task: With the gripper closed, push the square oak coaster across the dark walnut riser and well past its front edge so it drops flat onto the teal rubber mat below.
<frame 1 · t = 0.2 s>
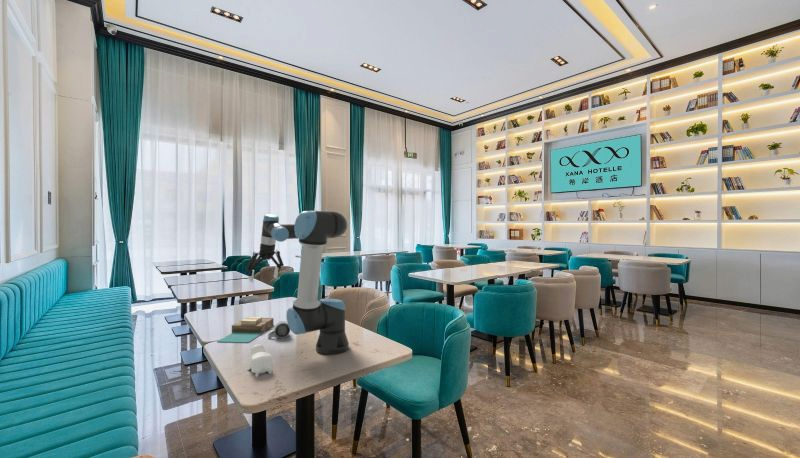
hand: (263, 279, 191), 28 cm above the table, tool tilted 20°, fingers open, 13 cm apart
ceramic mug: (279, 337, 181), on the table
oak coaster: (251, 322, 192), point 4 cm above the table, touching walnut riser
walnut riser: (253, 328, 194), on the table
teal mat: (240, 337, 179), on the table
white animal figurine: (260, 370, 140), on the table
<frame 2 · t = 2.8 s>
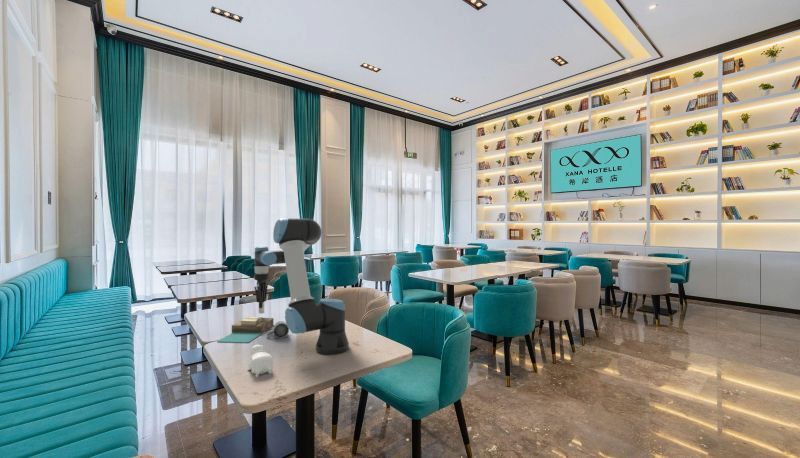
hand: (261, 313, 204), 6 cm above the table, tool pointing down, fingers closed
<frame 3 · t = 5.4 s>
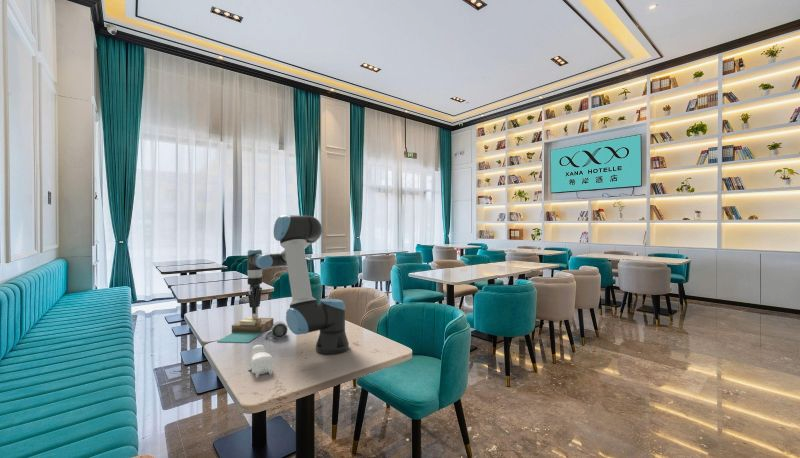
hand: (254, 318, 196), 5 cm above the table, tool pointing down, fingers closed
oak coaster: (250, 323, 191), point 4 cm above the table, touching walnut riser
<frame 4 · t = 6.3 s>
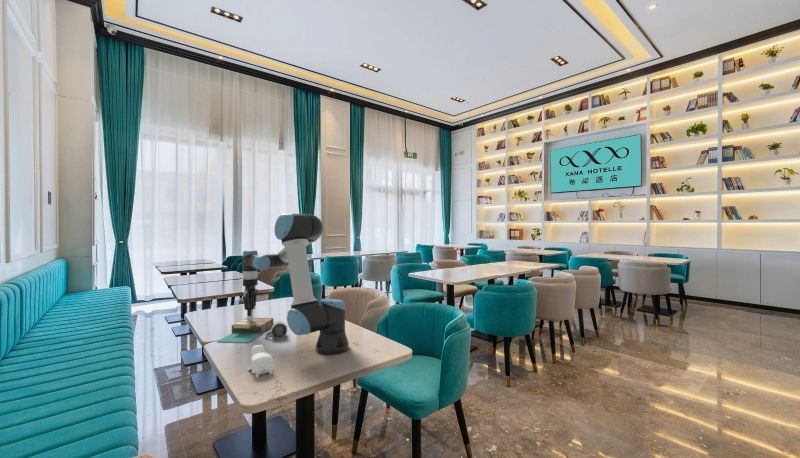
hand: (250, 321, 191), 5 cm above the table, tool pointing down, fingers closed
oak coaster: (245, 325, 186), point 4 cm above the table, touching gripper
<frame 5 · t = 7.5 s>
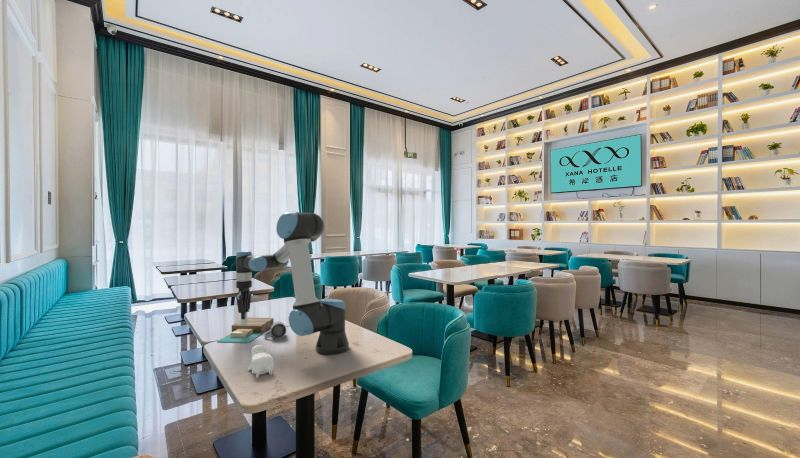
hand: (244, 324, 184), 5 cm above the table, tool pointing down, fingers closed
oak coaster: (242, 334, 182), resting on teal mat
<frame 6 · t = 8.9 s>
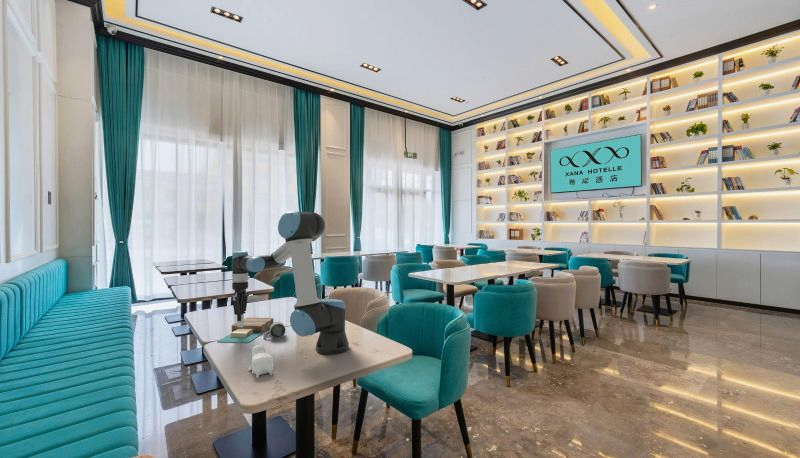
hand: (240, 326, 180), 5 cm above the table, tool pointing down, fingers closed
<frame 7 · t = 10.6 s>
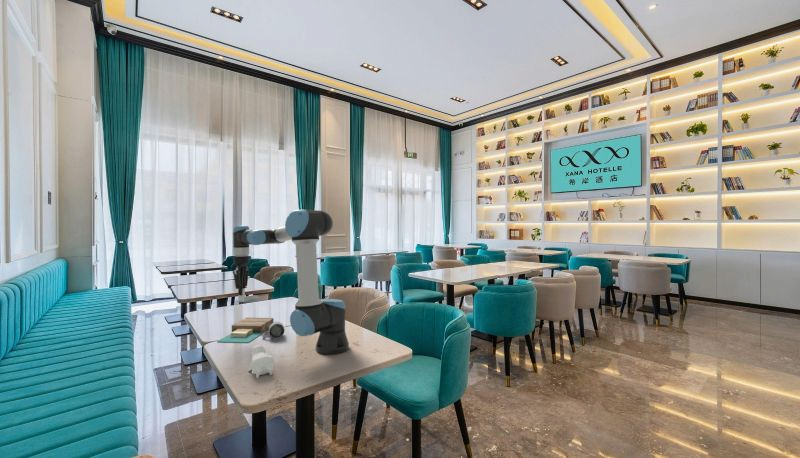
hand: (241, 301, 180), 18 cm above the table, tool pointing down, fingers closed
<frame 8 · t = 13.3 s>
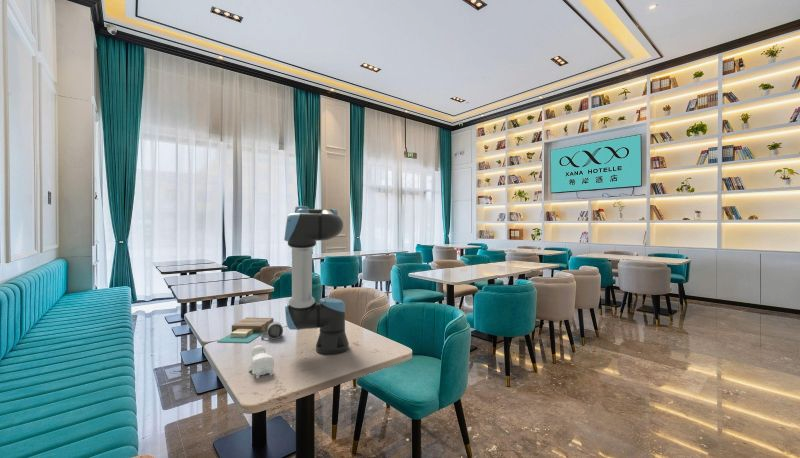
hand: (302, 276, 194), 29 cm above the table, tool pointing down, fingers closed
at the end: oak coaster resting on teal mat; oak coaster inside the target area (3.7 cm from its centre), resting on teal mat; oak coaster tilted 0° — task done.
